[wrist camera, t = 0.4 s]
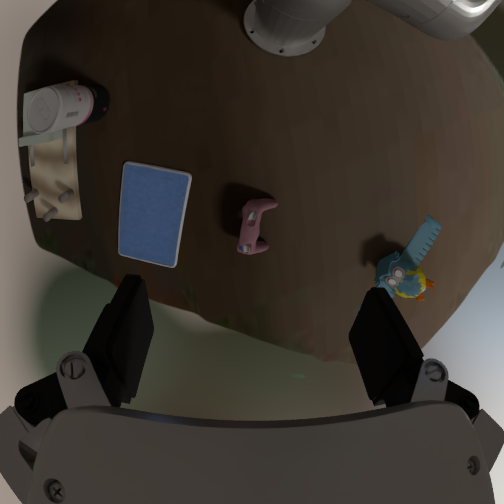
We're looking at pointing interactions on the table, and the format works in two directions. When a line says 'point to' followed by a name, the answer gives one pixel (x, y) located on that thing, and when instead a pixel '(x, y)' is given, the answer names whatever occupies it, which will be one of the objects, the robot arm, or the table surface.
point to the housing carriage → (28, 134)
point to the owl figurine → (408, 265)
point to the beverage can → (66, 107)
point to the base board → (55, 176)
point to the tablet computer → (152, 212)
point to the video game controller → (253, 226)
